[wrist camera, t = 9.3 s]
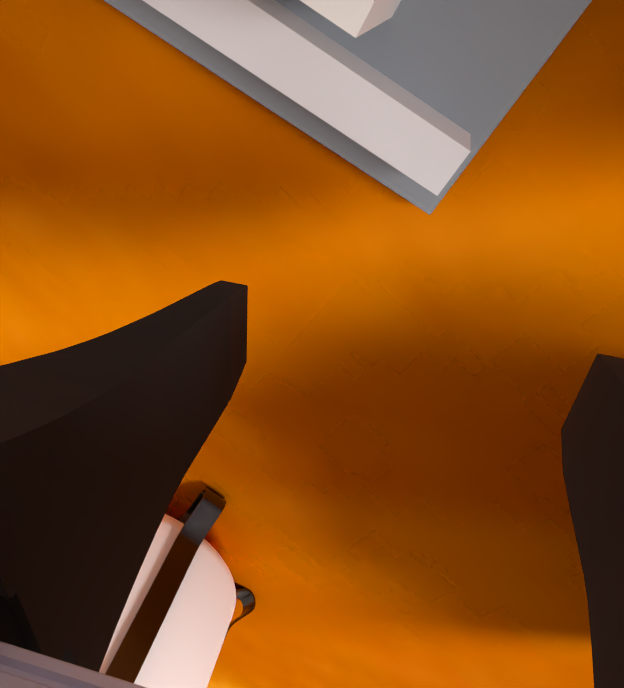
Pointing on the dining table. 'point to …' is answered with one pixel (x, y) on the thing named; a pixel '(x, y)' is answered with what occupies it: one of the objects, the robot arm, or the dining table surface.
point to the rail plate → (375, 74)
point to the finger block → (355, 13)
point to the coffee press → (177, 606)
